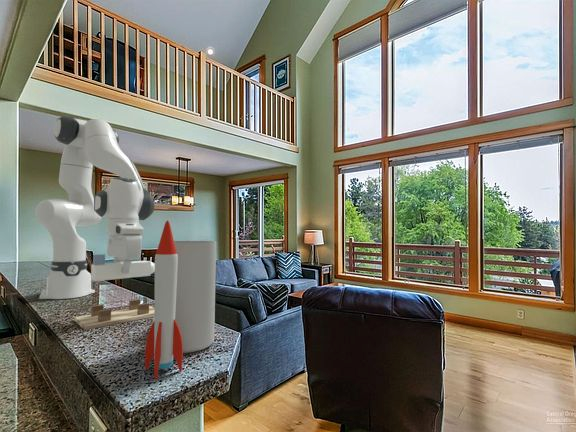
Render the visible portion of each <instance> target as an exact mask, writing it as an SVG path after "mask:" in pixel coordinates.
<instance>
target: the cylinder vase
mask: <svg viewBox="0 0 576 432" xmlns="http://www.w3.org/2000/svg"><path fill="white" fill-rule="evenodd" d="M174 244H175V247H176V251H177V255H178V268H177V289H176V310H175V320H176V322H177V324H178V327H179V329H180V333H181V336H182V344H183V354H188V353H195V352H200V351H203V350H205V349H207V348H208V347H210V346H212V344H213V343H214V342H215V341H214V340H215V325H216V324H215V323H216V322H215V320H216V318H215V317H216V316H215V315H216V314H215V313H216V272H217V271H216V270H217V269H216V268H217V265H216V264H217V263H216V262H217V241H214V240H213V241H212V240H174Z"/></svg>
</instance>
